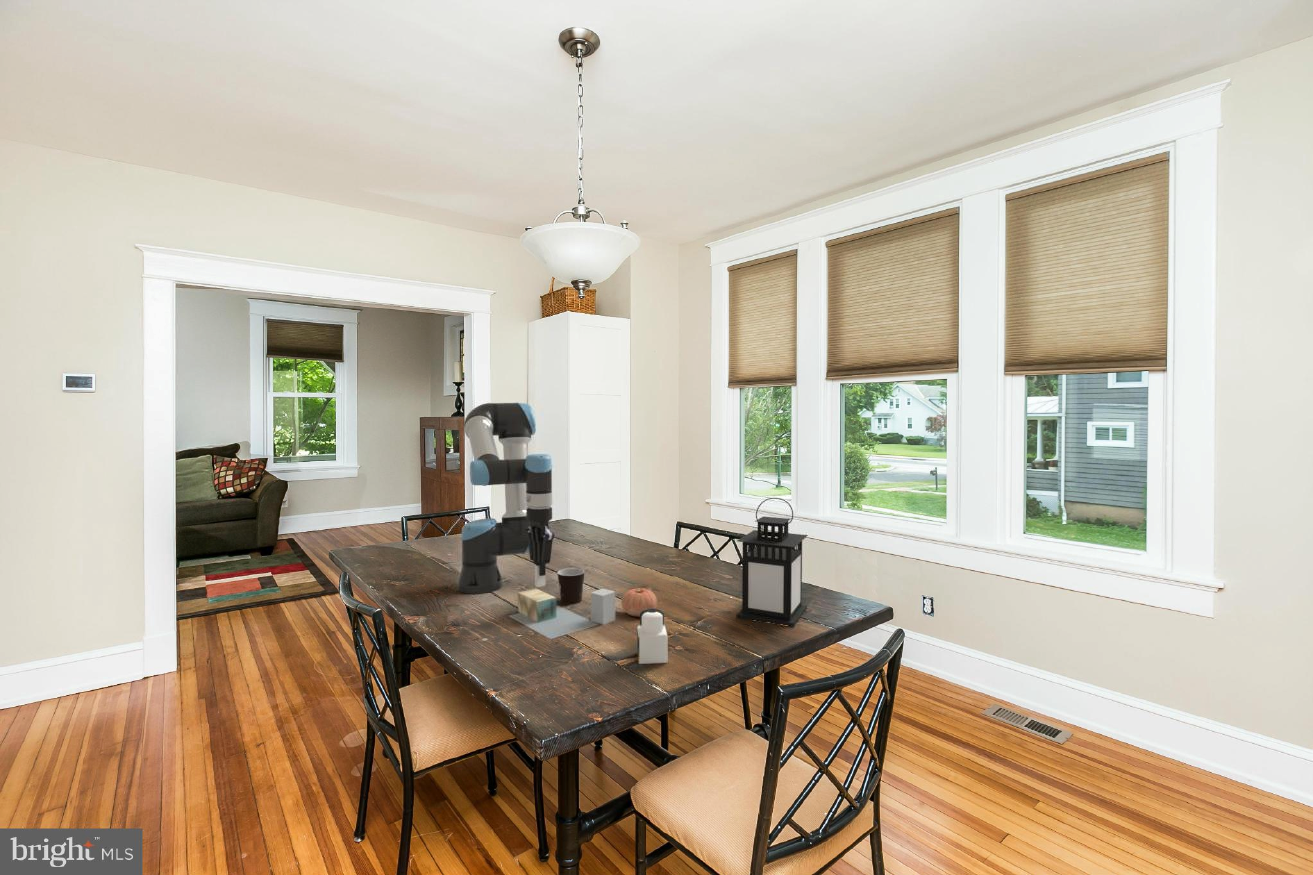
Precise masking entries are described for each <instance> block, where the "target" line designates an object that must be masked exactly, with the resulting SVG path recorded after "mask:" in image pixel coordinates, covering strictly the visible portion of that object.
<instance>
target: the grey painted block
mask: <svg viewBox="0 0 1313 875" xmlns="http://www.w3.org/2000/svg"><path fill="white" fill-rule="evenodd" d="M615 620H616V591H614V590H610V589H606V588H600V589H597V590H594V591H592V592H590V621H592V622H594V623H596V624H599V625H606V624H608V623H611V622H614V621H615Z"/></svg>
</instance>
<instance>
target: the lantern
mask: <svg viewBox="0 0 1313 875" xmlns="http://www.w3.org/2000/svg"><path fill="white" fill-rule="evenodd" d="M774 499H775V500H780V501H783V502H785V503H786V504H787V505H788V506H789V508H790V510H791V518H788V517H787V518H786V517H777V516H775V517H774V516H773V517H772V516H761V517H759V518H758V510H759V509H760V507H761V505H762V504H763V503H765V502H766V501H769V500H774ZM755 518H756V520H755V521H754V522H755V523H756V522H757V530H756V529H754V530H752V531H750V532H749V533H747V534H745V535H744V536H742V537H740V538H739V539H737V540H736V542H739V543H740V542H741V543H742V567H741V569H742V571H741V572H742V574H741V575H742V581H741V583H742V586H741V588H742V590H741V591H742V595H741V596H742V598H741V599H742V602H741V603H742V604H741V606H742V607H741V609H740V610H739V611H738V612H737V613H736V614H735V619H738V618H739V620H744V619H747V620H746V621H750V620H756V621H755V622H757V621H761V622H760V623H763V622H770V623H775V624H774V625H776V624H783V625H788V626H795V627H796V625H797V624H798V623H797V622H799V621H800V620H801V618H802V617H803V616H804V614H805V613H806V611H807V610H808V605H807V604H803V603H802V602H803V600H802V599H803V598H802V595H803V592H802V590H803V589H802V588H803V584H802V583H803V540H804V539H806V538H807V537H808V536H809V534H808V535H807V534H800V533H799V534H798V533H791V532H790V533H789V524H791V523H792V521H793V520H794V510H793V507H792V506H791V504H790V503H789V502H788V501H786V500H785V499H784V498H781V497H768V498H767V499H764V500H763V501H761V503H760V504H759V505H758V506H757V508H756V513H755ZM769 527H771V528H770V531H769ZM776 527H777V532H776ZM806 609H807V610H806ZM805 610H806V611H805ZM804 612H805V613H804ZM803 613H804V614H803ZM802 615H803V616H802ZM801 616H802V617H801ZM800 617H801V618H800ZM799 619H800V620H799ZM798 620H799V621H798ZM796 623H797V624H796ZM795 624H796V625H795ZM788 626H787V627H788Z"/></svg>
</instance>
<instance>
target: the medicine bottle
mask: <svg viewBox="0 0 1313 875" xmlns="http://www.w3.org/2000/svg"><path fill="white" fill-rule="evenodd" d="M666 629H667V628H666V625H665V613H664V611H662V610H660V609H658V608H655V609H646V610H643V611H642V612H641V613H640V617H639V625H637V627H636V637H637V639H636V640H637V641H636V642H637V643H636V645H637V646H636V651H637V662H638V664H639V665H645V664H646V665H647V664H648V665H650V664H667V663H668V661H669V660H668V659H669V658H668V646H669V645H668V638H669V637H668V632H667V630H666Z"/></svg>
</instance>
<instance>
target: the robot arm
mask: <svg viewBox="0 0 1313 875" xmlns="http://www.w3.org/2000/svg"><path fill="white" fill-rule="evenodd" d="M536 427H537V426H536V416H535V413H534V411H533V408H532V406H531V405H530V404H528V403H525V402H523V403H522V402H487V403H482V404H480V405H477V406H476V407H474V408H473V409H472V410H470V411H469V413H468V414H467V416H466V417H465V419H464V423H463V430H464V434H465V435H466V436H467V439H469V442H470V448H471V452H472V457H473V461H471V462H470V463H469V478H470V484H471V485H473V486H482V487H483V486H484V487H487V486H497V485H504V496H505V497H504V499H505V513H504V514H503V515H502V516H501V521H500V522H497V520H496V518H491V517H489V518H481V519H475V520H472V521H469V522H467V523H464V525H463V526H462V528H461V537H460V540H461V570H460V572H459V576H458V579H457V582H456V587H457V591H458V592H460V593H463V594H470V595H471V594H476V595H477V594H485V593H490V592H491V593H492V592H494V591H498V590H500V589H501V588H502V587H503V577H502V575H501V572H500V569H499V566H498V562H497V561H498V557H501V556H513V555H525V554H529V560H530V561H532V562H533V563H532V564H534V586H535V588H536V587H537V588H540V587H545V586H546V584H547V583H546V574H547V573H546V569H547V568H546V565H547V564H550V563H551V558H552V549H553V548H552V547H553V540H554V538H555V533H554V532H551V530H550V524H549V522H550V521H552V519H553V507H552V505H553V485H552V484H553V482H552V481H553V478H552V476H553V475H552V474H553V473H552V471H553V470H552V469H553V463H552V456H551V455H550V454H545V453H535V454H534V453H532V454H529V450H528V444H529V443H530V441H532V436H534V435H535V433H536ZM494 436H498V437H497V438H498V442H499V443H500V444H502V447H503V448H502V450H503V453H502V454H503V459H500V455H499V452H498V449H497V445H496V442H495V439H494Z"/></svg>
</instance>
